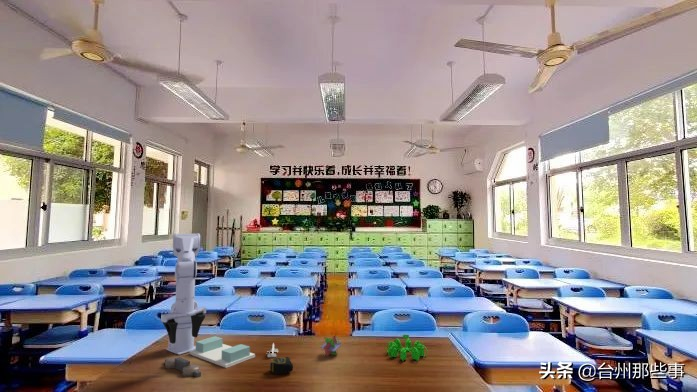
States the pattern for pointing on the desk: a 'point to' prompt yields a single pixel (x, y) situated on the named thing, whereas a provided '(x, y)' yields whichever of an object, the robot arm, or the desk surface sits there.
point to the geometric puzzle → (331, 345)
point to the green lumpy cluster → (406, 349)
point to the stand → (221, 352)
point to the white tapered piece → (272, 352)
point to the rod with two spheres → (183, 366)
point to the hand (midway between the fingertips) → (183, 339)
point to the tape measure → (281, 365)
